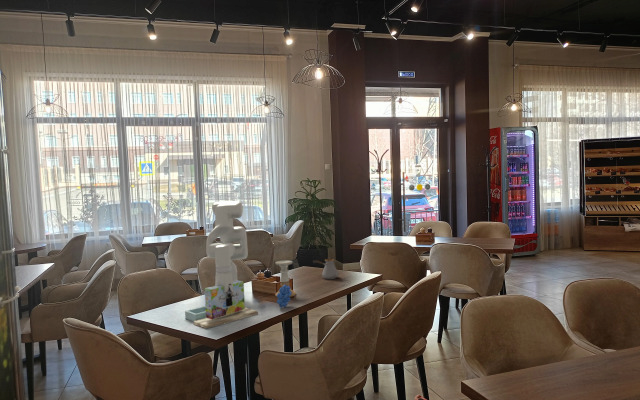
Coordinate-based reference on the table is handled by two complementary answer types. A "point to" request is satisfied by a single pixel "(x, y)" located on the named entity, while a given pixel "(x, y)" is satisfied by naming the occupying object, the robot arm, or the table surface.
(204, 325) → the board
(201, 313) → the bin
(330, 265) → the coffee pot
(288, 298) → the grapes
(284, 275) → the candle holder
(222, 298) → the snack box
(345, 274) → the table surface
